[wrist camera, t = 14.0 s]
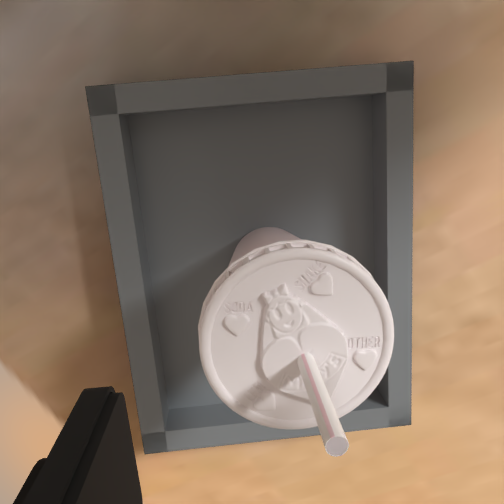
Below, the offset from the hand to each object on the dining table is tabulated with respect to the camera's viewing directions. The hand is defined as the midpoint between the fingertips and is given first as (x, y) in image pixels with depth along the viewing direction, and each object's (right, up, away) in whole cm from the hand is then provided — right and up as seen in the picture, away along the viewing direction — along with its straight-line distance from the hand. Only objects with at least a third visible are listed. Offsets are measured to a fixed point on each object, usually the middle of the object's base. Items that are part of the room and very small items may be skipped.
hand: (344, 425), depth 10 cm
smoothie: (-1, +3, +15) cm, 15 cm away
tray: (-1, +3, +15) cm, 16 cm away
